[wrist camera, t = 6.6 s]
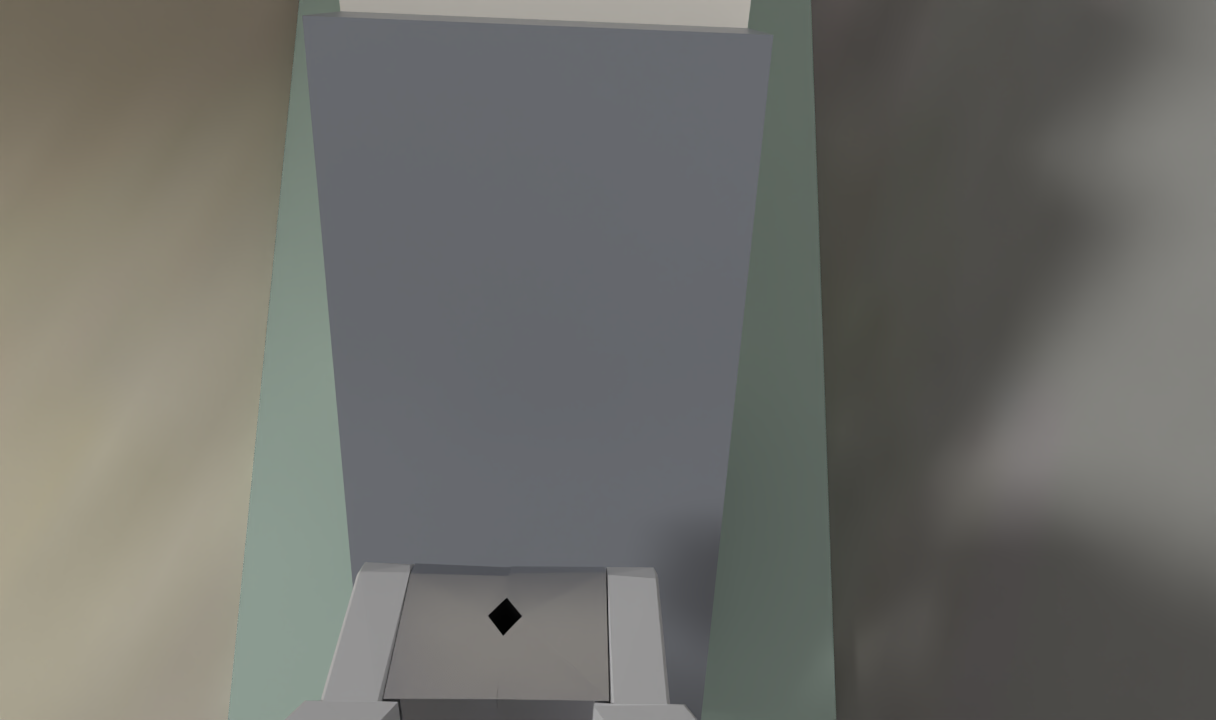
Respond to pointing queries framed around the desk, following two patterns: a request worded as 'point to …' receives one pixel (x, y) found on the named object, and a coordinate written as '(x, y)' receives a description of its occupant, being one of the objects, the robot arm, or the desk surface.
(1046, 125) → the desk surface
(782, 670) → the mat
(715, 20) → the domino
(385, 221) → the domino
